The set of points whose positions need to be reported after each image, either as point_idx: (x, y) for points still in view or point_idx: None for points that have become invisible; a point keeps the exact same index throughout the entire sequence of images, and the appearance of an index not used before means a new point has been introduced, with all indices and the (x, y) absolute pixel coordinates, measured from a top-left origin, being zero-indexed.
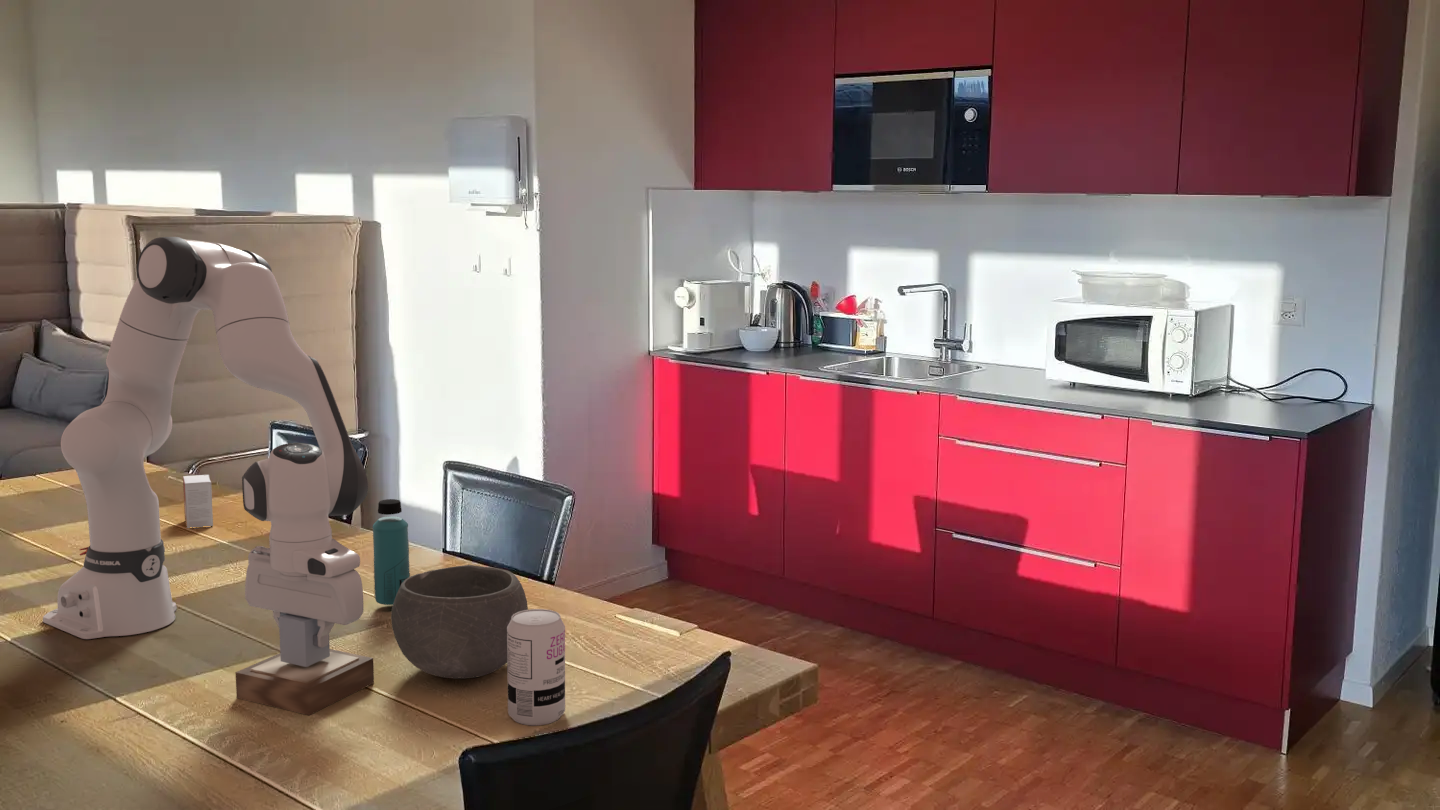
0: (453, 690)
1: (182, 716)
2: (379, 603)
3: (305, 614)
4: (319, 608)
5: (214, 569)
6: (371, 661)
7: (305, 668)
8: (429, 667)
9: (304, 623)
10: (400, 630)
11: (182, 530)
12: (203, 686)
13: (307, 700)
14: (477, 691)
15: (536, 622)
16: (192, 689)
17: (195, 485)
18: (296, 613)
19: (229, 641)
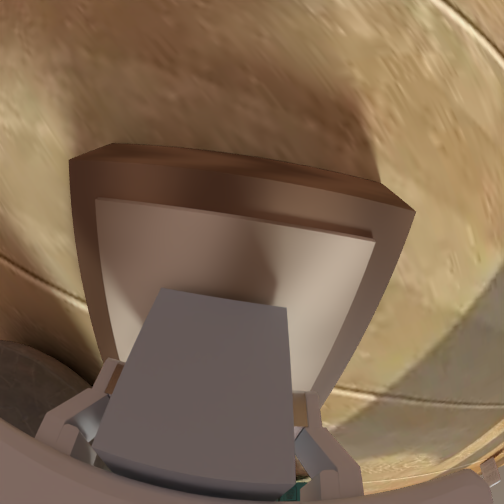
0: (23, 327)
1: (437, 46)
2: (305, 482)
3: (104, 486)
4: (5, 481)
5: (480, 447)
6: None
7: None
8: (8, 344)
9: (97, 439)
10: (20, 413)
11: (495, 454)
12: (475, 229)
13: (95, 151)
14: (6, 327)
15: None
16: (488, 208)
17: (494, 482)
18: (173, 502)
19: (464, 384)
